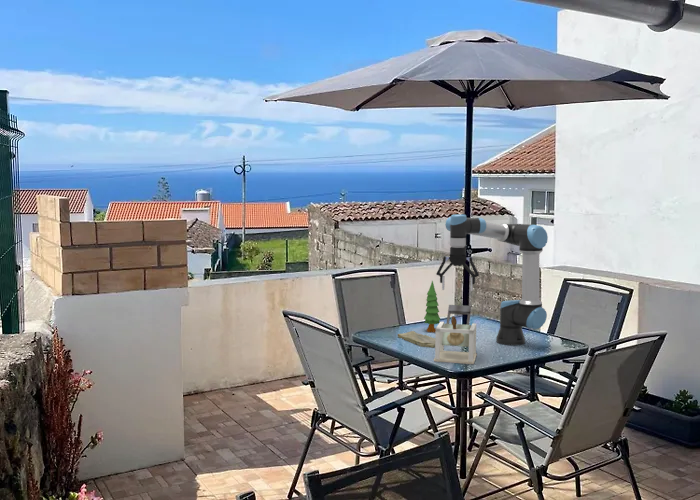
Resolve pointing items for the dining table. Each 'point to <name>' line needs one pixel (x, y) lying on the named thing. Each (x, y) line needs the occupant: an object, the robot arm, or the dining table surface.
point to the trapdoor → (457, 310)
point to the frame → (453, 355)
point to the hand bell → (455, 334)
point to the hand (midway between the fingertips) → (457, 290)
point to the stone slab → (418, 339)
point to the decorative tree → (432, 309)
